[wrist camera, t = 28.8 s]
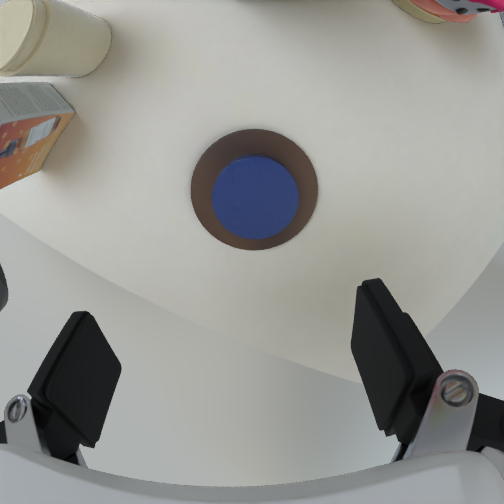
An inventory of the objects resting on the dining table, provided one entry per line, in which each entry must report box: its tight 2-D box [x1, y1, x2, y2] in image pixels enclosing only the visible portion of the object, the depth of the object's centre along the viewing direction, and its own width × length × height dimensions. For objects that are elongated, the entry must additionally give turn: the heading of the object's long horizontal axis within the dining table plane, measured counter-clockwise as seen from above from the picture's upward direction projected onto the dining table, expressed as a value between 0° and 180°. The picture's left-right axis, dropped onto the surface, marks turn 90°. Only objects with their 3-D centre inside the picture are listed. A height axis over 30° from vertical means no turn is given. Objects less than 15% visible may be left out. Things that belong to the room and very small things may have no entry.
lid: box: [212, 154, 299, 239], centre depth 23 cm, size 7×7×2 cm
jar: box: [0, 0, 112, 78], centre depth 12 cm, size 6×6×11 cm
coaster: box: [191, 129, 318, 250], centre depth 25 cm, size 11×11×1 cm
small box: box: [0, 82, 75, 189], centre depth 16 cm, size 8×6×10 cm
